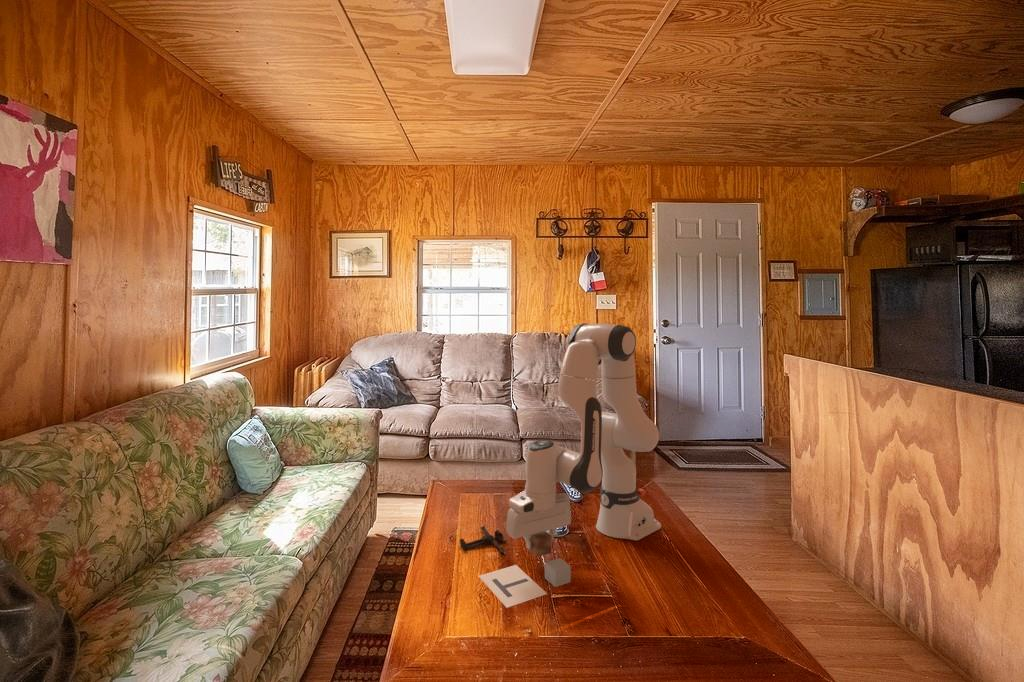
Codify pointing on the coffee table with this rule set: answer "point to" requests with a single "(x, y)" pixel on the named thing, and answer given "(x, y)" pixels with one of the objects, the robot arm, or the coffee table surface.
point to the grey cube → (557, 572)
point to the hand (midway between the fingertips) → (539, 545)
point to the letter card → (512, 585)
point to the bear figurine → (485, 541)
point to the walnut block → (541, 543)
